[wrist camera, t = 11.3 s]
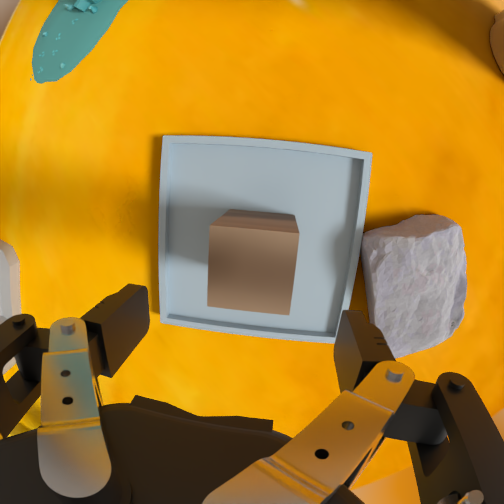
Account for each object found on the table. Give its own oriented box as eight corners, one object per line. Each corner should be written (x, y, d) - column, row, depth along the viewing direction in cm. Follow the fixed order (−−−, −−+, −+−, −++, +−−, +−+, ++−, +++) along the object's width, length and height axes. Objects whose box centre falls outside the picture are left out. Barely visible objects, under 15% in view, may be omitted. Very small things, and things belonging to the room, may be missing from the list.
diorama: (11, 77, 23) (-39, 68, 14) (107, -56, 17) (73, -89, 9) (63, 113, 24) (2, 105, 15) (179, -43, 18) (150, -90, 10)
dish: (169, 137, 23) (162, 135, 22) (367, 153, 22) (372, 152, 21) (165, 315, 28) (160, 322, 26) (338, 335, 27) (340, 343, 25)
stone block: (436, 203, 24) (344, 232, 24) (470, 210, 20) (372, 245, 19) (442, 312, 28) (363, 349, 27) (470, 332, 23) (385, 377, 23)
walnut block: (230, 208, 24) (209, 225, 17) (294, 214, 24) (299, 233, 17) (226, 269, 25) (206, 306, 18) (287, 276, 25) (289, 315, 18)
